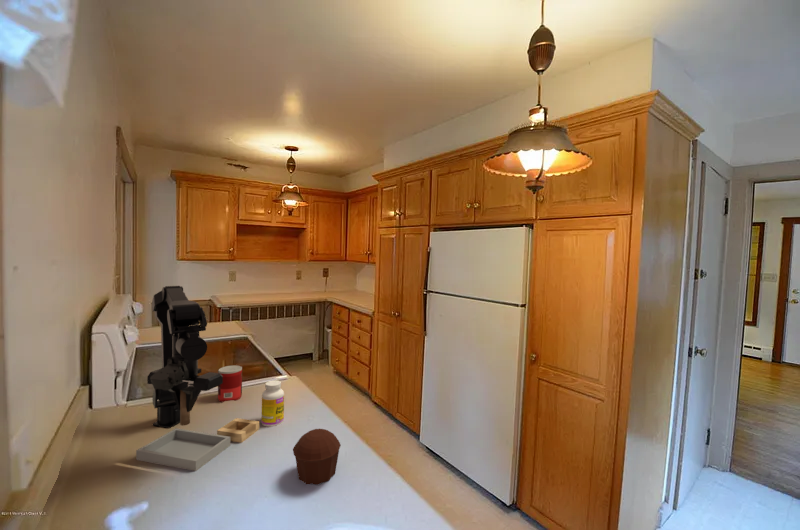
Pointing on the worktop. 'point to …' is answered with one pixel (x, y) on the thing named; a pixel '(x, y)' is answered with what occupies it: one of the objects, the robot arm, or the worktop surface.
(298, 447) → the muffin
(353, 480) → the worktop surface
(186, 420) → the pin
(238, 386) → the canned food
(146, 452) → the tray
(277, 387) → the supplement bottle
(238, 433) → the holder
